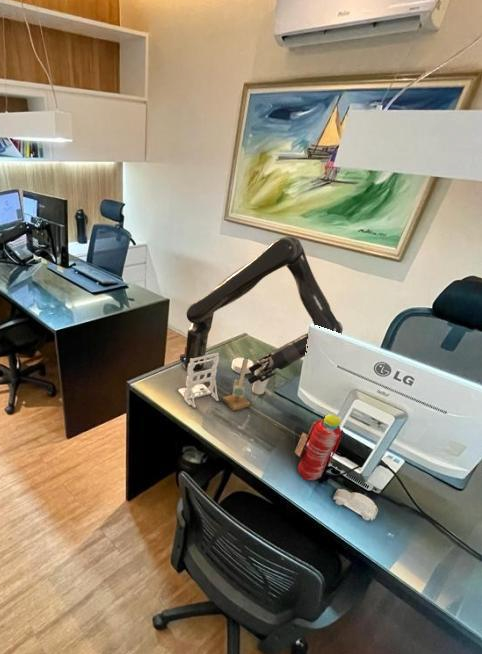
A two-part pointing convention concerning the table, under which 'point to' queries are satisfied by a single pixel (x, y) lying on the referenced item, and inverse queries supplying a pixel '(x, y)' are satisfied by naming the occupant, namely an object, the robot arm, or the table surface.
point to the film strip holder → (196, 390)
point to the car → (357, 503)
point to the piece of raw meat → (318, 447)
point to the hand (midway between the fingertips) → (249, 375)
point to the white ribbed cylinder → (238, 365)
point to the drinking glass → (259, 384)
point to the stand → (236, 399)
